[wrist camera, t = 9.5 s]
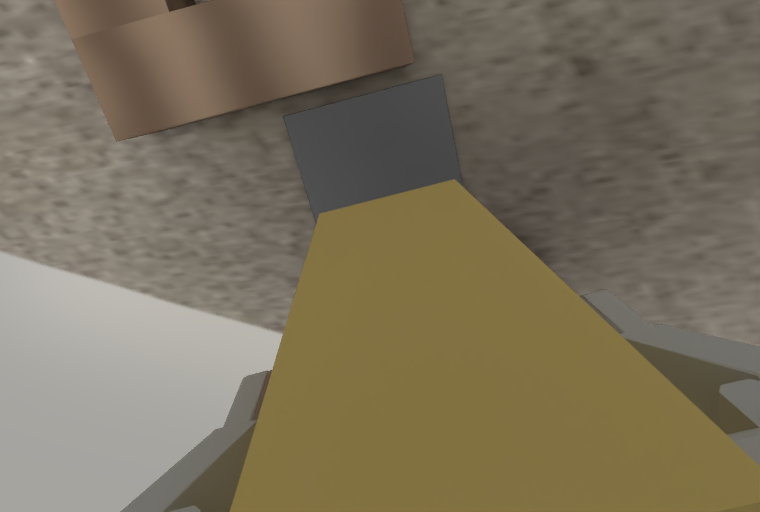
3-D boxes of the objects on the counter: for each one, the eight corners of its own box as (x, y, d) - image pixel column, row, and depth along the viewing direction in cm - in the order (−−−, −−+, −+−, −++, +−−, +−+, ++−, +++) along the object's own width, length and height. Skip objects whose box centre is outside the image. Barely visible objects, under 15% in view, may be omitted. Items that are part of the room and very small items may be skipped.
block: (454, 179, 15) (791, 494, 3) (478, 301, 16) (765, 808, 5) (319, 213, 15) (195, 625, 3) (355, 332, 16) (350, 888, 5)
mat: (440, 74, 28) (441, 74, 28) (469, 226, 32) (470, 228, 32) (284, 116, 29) (282, 116, 29) (328, 261, 32) (328, 263, 32)
